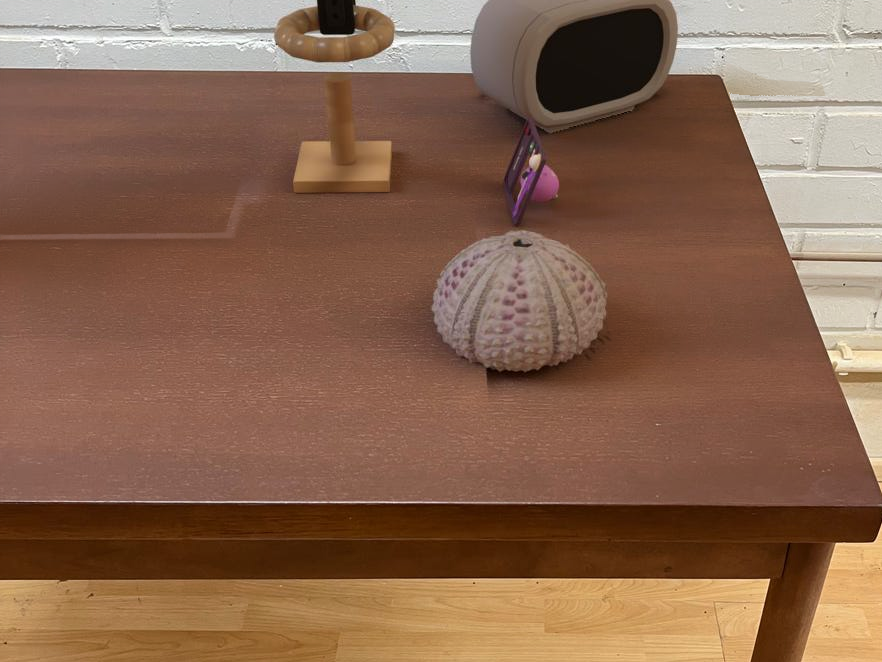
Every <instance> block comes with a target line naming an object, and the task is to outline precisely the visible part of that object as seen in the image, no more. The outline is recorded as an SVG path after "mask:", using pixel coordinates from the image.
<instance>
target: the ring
mask: <svg viewBox="0 0 882 662" xmlns="http://www.w3.org/2000/svg"><path fill="white" fill-rule="evenodd" d="M353 9H354V22H355V30H357V31H362V33H358V34H352V35H346V36H340V37H339V36H333V37H332V36H331V37H329V36H328V37H327V36H324V37H323V36H321V37H318V36H314V35H310V34H307V33H312V32H316V31H320V28H319V18H318V8H317V5H315V6H309V7H305V8H300V9H299V8H298V9H297V10H295V11H293V12H291V13H289V14H287V15H285V16H282V17H281V18H280V19H278V22H277V24H276V28H275V30H274V34H273V40H274V42H275V45H276V46H277V47H279V48H280V49H281V50H282V51H284V53H286V54H288V55H289V56H290V57H292V58H295V59H299V60H304V61H309V62H312V63H313V62H314V63H350V62H355V61H360V60H364V59H368V58H369V59H370V58H373V57H375V56H377V55H378V54H380V53H382V52H384V51H385V50H387V49H388V48H390V47H391V46H392V45H393V43H394V40H395V32H396V31H395V30H396V27H395V23H394V21H393V19H392V18H390V17H389V16H388V15H386V14H384V13H383V12H381V11H379V10H378V9H375V8H371V7H366V6H361V5H357V4H356V5H353Z"/></svg>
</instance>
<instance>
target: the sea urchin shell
mask: <svg viewBox="0 0 882 662" xmlns="http://www.w3.org/2000/svg"><path fill="white" fill-rule="evenodd" d="M439 277H440V278H437V279H436V284H437V285H436V288H435V289H434V292H433V296H432V299H433V303H432V305H431V306H430V308H431V311H432V312H433V314H434V316H433V322H434V324H435V325H436V326H437V329H436V330H437V332H438V333H439V334H440V335H441V336H442V341H443V343H445V344H447V345H449V346H450V348H452V349H453V350H455V352H456V355H457V356H459V357H463V358H466V359H468V360H469V363H471V364H474V363H480V364H483V366H484V367H485V368H487V369H489V368H490V369H491V370H492V371H493V370H496V371H498V372H500V373H501V372H503V371H505V370H507V371H513V372H519V371H523V372H524V373H526V372H530V371H533V370H535V371H539V370H540V369H541V368H542V367H544V366H549V367H553V366H558V364H559V363H567V361H568V360H572V359H573V356H574V355H581V354H582V352H583V350H585V349H588V348H589V347H590V345H591V342H592V341H594V340H597V338H598V333H599V332H600V331H602V330H603V328H604V320H605V319H606V318H607V311H606V306H607V298H608V295H609V294H608V293H607V291H606V290H605V288H606V283H605V282H604V281H603V280H602V279H601V278H600V274H599V273H597V271H596V270H595V268H594V267H593V266H592V265H591V264H590V263H589V262H588V261H586V260H585V258H584V257H583V256H581V255H580V254H578V253H577V251H576V250H575V249H574V250H573V249H571V247H570V245H569V244H563V243H561V242H560V241H558V240H554V239H550V238H548V237H547V236H544V235H542V234H541V232H540V233H537V232H536V231H535V232H534V231H529V230H524V229H522V230H520V229H519V230H516V231H514V230H510V231H507V232H506V233H505V234H501V235H497V236H495V235H494V236H493V235H491V236H490V237H488V238H485V237H483V238H482V239H481V240H479V241H477V240H476V241H474V242H473V243H472V244H470V245H469V246H467V247H466V248H464V249H462V250H461V251H460V252H459V253H458V254H456V255H455V256H454V257H453V258H452V259H451V260H450V261H449V262H448V263H447V265H446V266H445V267H444V269H442V270H441V272H440V275H439Z"/></svg>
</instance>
